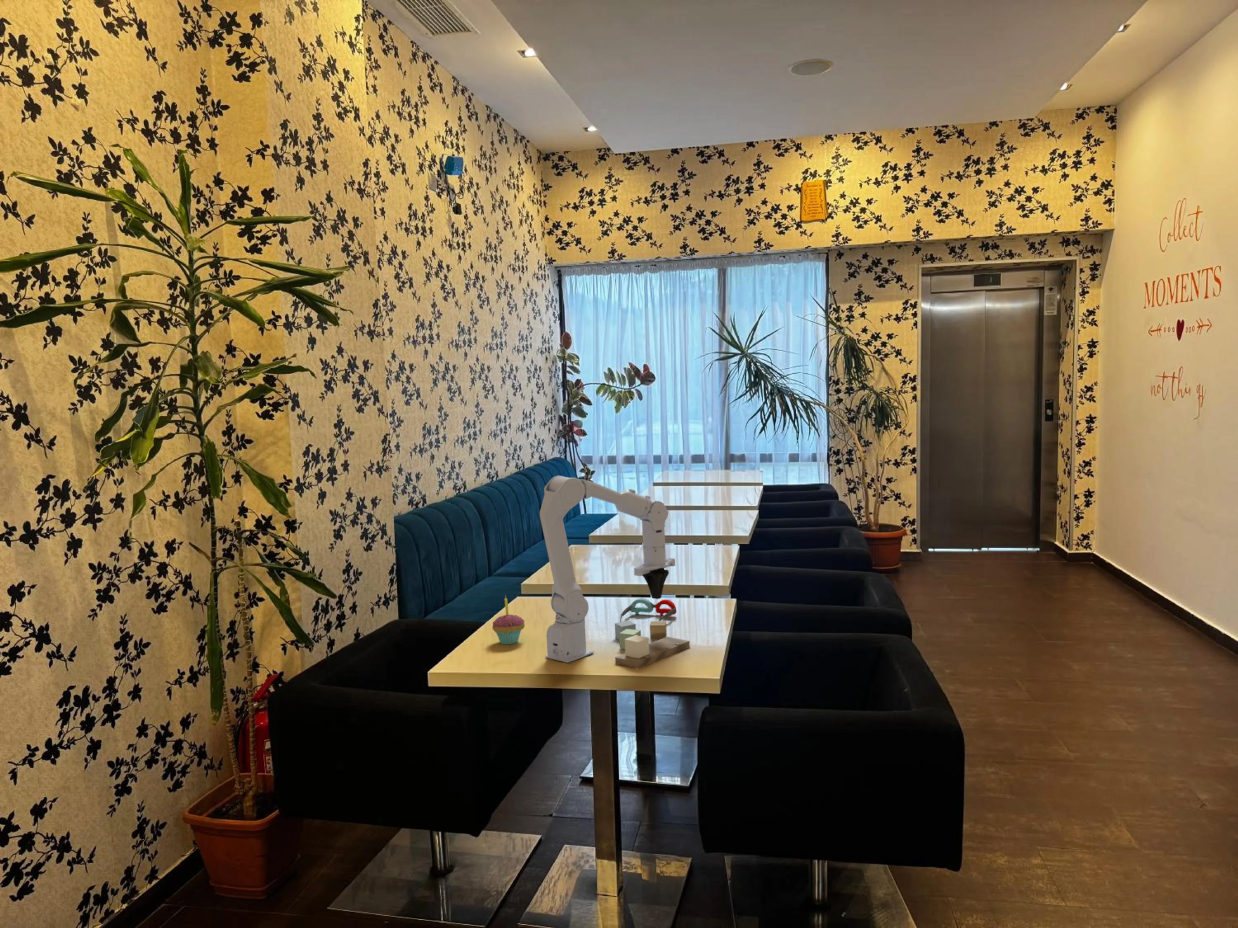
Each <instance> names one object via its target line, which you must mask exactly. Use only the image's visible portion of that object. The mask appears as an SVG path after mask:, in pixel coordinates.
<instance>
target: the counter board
mask: <svg viewBox="0 0 1238 928" xmlns="http://www.w3.org/2000/svg"><path fill="white" fill-rule="evenodd" d="M690 647H691V645H690V640H688V639H687V640H686V639H681V638H677V637H670V636H667V637H665V638H663V639H660V640H654V641H653V642H649V654H648V655H646V656H643V657H641V658H639V659H638V658H634V657H629V656H626V655H625V653H623V654H620V655H617V656H615V657H614V658H615V660H614V662H615V664H617V665H621V666H625V667H628V668H629V667H630V668H633V669H641V668H643V667H645V666H648V665H650V664H653V663H655V662H657V661H660V660H662V659H665V658H667V657H669V656H671V655H674V654H677V653H679V652H680V651H683V650H686V649H688V648H690Z"/></svg>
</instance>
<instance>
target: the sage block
mask: <svg viewBox="0 0 1238 928" xmlns="http://www.w3.org/2000/svg"><path fill="white" fill-rule="evenodd" d="M619 634H620V640H619V649H621V650H625V639H627V638H629V637H632V636H635V635H638V636H642V631H641V629H636V630H632V629H626V630H624V631H622V632H621V633H619Z"/></svg>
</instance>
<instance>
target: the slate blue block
mask: <svg viewBox="0 0 1238 928" xmlns="http://www.w3.org/2000/svg"><path fill="white" fill-rule="evenodd" d="M626 629H632V630H637V629H636V623H634V622H632V621H629V620H624V621H621V622H620V621H619V622H615V623H614V635H615V639H617V640H619V641H620V634H619V633H621V632H622V631H624V630H626Z"/></svg>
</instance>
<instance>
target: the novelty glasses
mask: <svg viewBox="0 0 1238 928" xmlns="http://www.w3.org/2000/svg"><path fill="white" fill-rule="evenodd" d="M638 604H643V605H645V606H637V607H636V605H638ZM662 605H666V606H668V607H669V608H668V607H667V608H666V607H663V608H661V606H662ZM654 609H655V613H657V614H659V616H660V615H662V616H660V619H659V620H658V621H663V620H664V619H667V618H669V617H671V616H674V615H675V614H677V606H676V605H675V603H674V602H673V601H672V600H670V599H666V598H665V599H662V600H660V601H658V602H657V603H656V604H654V603H653V602H651V601H650V600H649V599H647V598H642V597H641V598H637V599H635V600H634V601H633V602H632V603H631V604H630V605H628V606H627V607H626V608H624V609H623V611H622V612H621V614H620V617H619V618H620V621H619V622H622V618H623V617H624V616H626V614H627V613H629V612H631V613H634V616H637V615H639V613H648V614H649V613H652V612H653V611H654Z"/></svg>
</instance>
